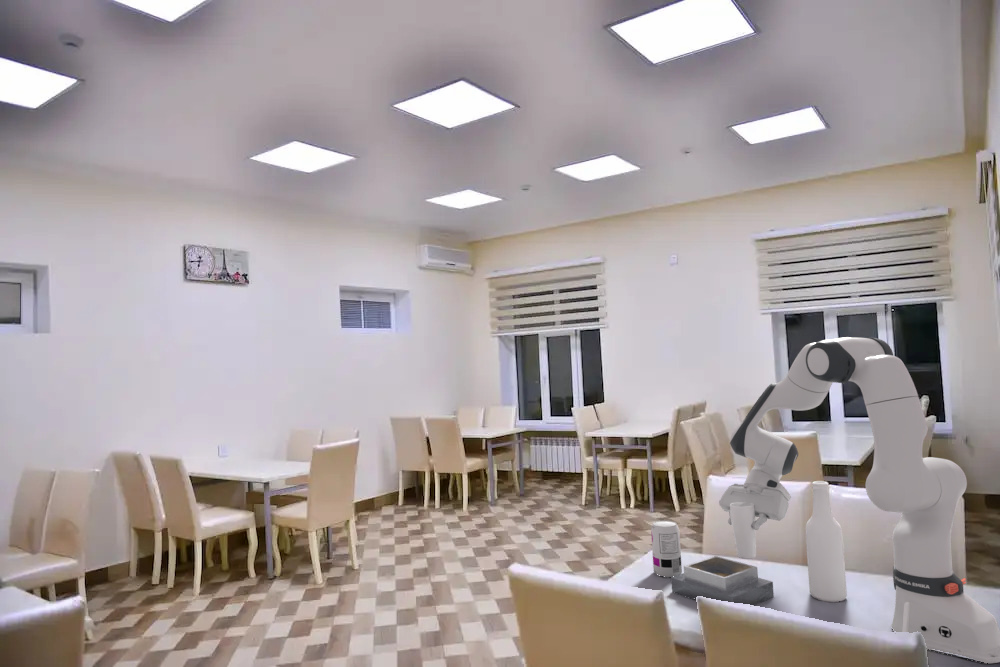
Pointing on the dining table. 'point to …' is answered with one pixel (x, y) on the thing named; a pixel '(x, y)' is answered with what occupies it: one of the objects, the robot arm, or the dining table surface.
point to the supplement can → (666, 548)
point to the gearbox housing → (723, 581)
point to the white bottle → (825, 549)
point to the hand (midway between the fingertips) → (742, 526)
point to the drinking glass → (743, 530)
